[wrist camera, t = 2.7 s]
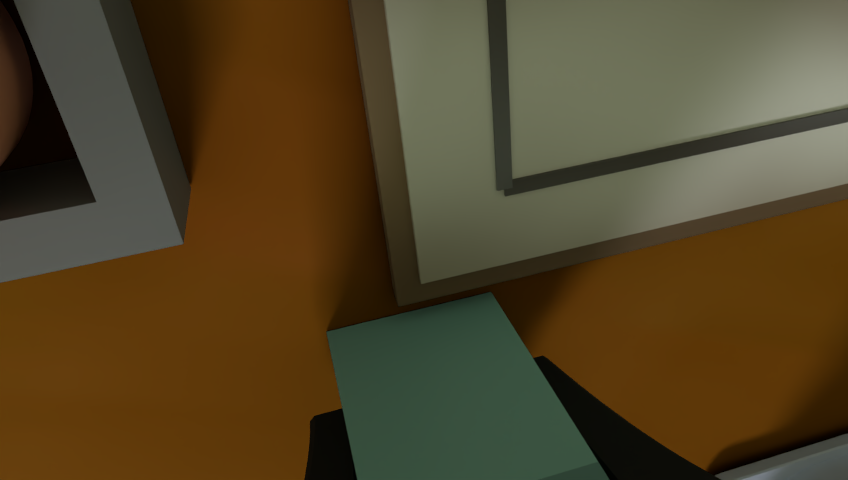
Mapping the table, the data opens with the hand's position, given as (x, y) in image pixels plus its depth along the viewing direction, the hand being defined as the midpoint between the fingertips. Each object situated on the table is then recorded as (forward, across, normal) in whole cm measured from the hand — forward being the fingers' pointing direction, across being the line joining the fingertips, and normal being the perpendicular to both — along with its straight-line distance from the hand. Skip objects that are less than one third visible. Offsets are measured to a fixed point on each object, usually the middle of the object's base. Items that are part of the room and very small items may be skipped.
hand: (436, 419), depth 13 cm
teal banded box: (+1, 0, 0) cm, 1 cm away
